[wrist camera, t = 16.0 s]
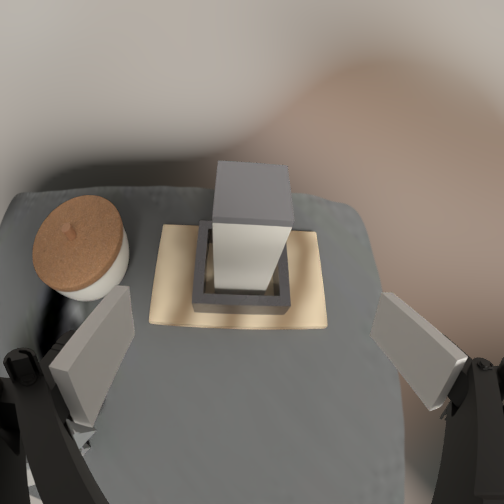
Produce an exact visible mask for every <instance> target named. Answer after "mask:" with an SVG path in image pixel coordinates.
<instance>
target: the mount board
mask: <svg viewBox="0 0 504 504" xmlns="http://www.w3.org/2000/svg"><path fill="white" fill-rule="evenodd" d="M198 230H199V226H193V225H165V224H164V225H163V230H162V235H161V240H160V246H159V252H158V258H157V264H156V270H155V277H154V284H153V291H152V298H151V306H150V315H149V322H150V323H151V324H159V325H172V326H186V327H202V328H225V329H323V328H326V327H327V316H326V306H325V297H324V288H323V280H322V272H321V264H320V257H319V250H318V243H317V236H316V232H306V231H290V234H289V236H288V239H287V241H286V244H287V257H288V270H289V284H290V299H291V307H290V308H289V309H288V311H287V312H286V313H285V315H249V314H218V313H198V312H194V309H193V306H192V291H193V279H194V268H195V258H196V248H197V239H198ZM205 293H206V294H215V286H214V259H213V243H209V249H208V262H207V276H206V291H205ZM264 296H274V287H273V275H272V277H271V280H270V282H269V285H268V287H267V289H266V292H265V294H264Z"/></svg>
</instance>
